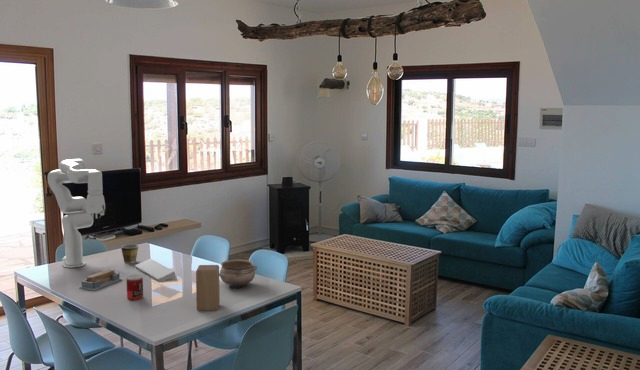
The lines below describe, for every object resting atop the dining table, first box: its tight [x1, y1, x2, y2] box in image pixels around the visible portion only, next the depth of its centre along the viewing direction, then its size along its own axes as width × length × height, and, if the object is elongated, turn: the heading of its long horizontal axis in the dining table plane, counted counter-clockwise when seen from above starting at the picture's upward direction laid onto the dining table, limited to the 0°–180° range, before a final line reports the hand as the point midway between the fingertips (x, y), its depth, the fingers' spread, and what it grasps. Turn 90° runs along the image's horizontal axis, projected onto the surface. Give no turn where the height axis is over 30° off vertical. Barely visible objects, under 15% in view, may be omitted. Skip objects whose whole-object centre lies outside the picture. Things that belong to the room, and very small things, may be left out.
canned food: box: [126, 274, 144, 301], centre depth 281 cm, size 8×8×11 cm
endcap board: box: [78, 271, 123, 291], centre depth 303 cm, size 10×21×4 cm, turn 158°
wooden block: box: [195, 264, 220, 312], centre depth 268 cm, size 10×10×20 cm
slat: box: [86, 268, 115, 284], centre depth 303 cm, size 4×16×5 cm, turn 158°
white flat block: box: [134, 258, 177, 282], centre depth 325 cm, size 34×5×10 cm
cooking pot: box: [219, 258, 258, 288], centre depth 303 cm, size 25×19×12 cm
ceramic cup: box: [120, 244, 139, 264], centre depth 347 cm, size 13×10×10 cm
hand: (96, 224), depth 315 cm, fingers closed
